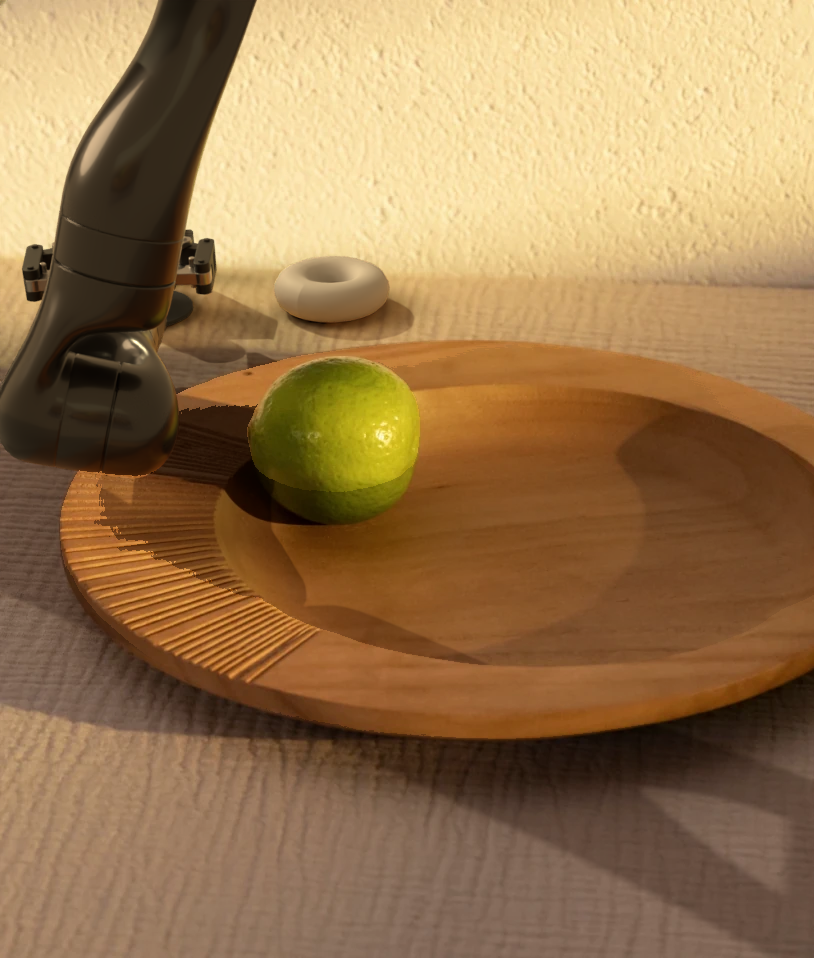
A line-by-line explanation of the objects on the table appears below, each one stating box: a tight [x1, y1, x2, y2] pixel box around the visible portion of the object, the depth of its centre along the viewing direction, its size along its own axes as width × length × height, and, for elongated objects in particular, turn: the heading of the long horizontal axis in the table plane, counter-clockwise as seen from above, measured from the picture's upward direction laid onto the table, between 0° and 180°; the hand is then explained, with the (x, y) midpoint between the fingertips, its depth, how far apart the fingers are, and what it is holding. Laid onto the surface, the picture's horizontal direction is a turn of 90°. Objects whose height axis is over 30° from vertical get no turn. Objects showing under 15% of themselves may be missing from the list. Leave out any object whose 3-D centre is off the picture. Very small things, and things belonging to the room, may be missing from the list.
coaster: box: [166, 290, 194, 327], centre depth 114 cm, size 9×9×1 cm
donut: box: [273, 255, 391, 324], centre depth 115 cm, size 10×4×10 cm
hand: (127, 237), depth 108 cm, fingers open, 8 cm apart
